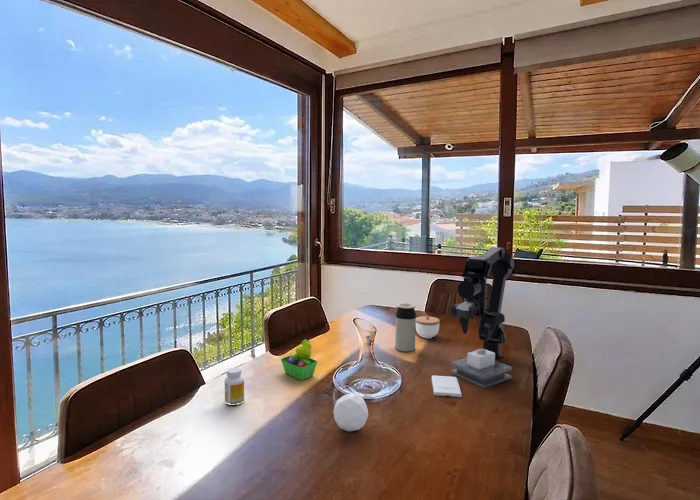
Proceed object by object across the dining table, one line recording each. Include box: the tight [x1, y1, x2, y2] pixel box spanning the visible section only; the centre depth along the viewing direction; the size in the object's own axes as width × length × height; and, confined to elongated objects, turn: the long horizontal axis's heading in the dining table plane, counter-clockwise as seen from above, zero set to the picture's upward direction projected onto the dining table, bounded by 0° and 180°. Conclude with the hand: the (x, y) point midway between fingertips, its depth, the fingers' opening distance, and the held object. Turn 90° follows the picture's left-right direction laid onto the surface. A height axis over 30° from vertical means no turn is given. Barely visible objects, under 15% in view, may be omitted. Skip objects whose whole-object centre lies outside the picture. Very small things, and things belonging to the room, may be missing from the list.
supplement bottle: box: [224, 367, 245, 404], centre depth 115 cm, size 5×5×10 cm
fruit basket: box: [280, 339, 318, 381], centre depth 136 cm, size 11×9×11 cm
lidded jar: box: [415, 315, 441, 339], centre depth 178 cm, size 11×11×9 cm
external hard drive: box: [431, 374, 463, 398], centre depth 127 cm, size 2×8×12 cm
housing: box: [466, 348, 496, 369], centre depth 135 cm, size 5×8×5 cm, turn 123°
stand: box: [450, 356, 513, 389], centre depth 136 cm, size 14×14×4 cm
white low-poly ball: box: [333, 393, 369, 432], centre depth 104 cm, size 9×9×12 cm
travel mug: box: [394, 302, 417, 353], centre depth 161 cm, size 8×8×18 cm
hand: (475, 337), depth 140 cm, fingers open, 9 cm apart
